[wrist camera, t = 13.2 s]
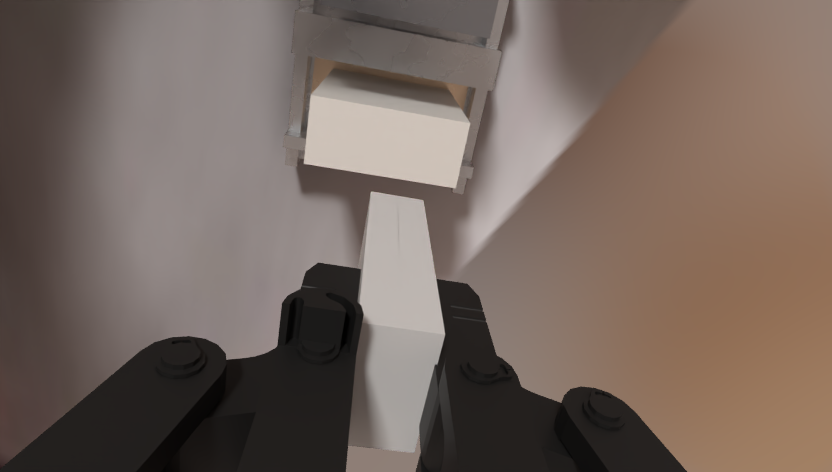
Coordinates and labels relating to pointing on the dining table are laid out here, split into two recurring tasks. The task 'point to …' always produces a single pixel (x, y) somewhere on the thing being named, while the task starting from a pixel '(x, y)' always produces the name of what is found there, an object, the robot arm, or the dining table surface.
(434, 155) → the panel
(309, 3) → the frame
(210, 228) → the dining table surface
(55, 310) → the dining table surface
